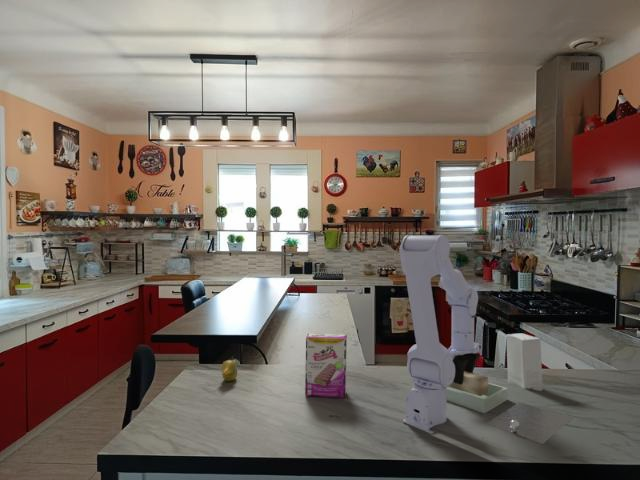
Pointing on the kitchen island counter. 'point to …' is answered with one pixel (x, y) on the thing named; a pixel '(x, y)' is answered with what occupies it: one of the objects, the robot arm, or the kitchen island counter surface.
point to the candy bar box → (326, 365)
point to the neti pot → (229, 370)
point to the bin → (479, 398)
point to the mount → (530, 422)
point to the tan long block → (472, 384)
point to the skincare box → (524, 361)
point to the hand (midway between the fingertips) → (462, 381)
